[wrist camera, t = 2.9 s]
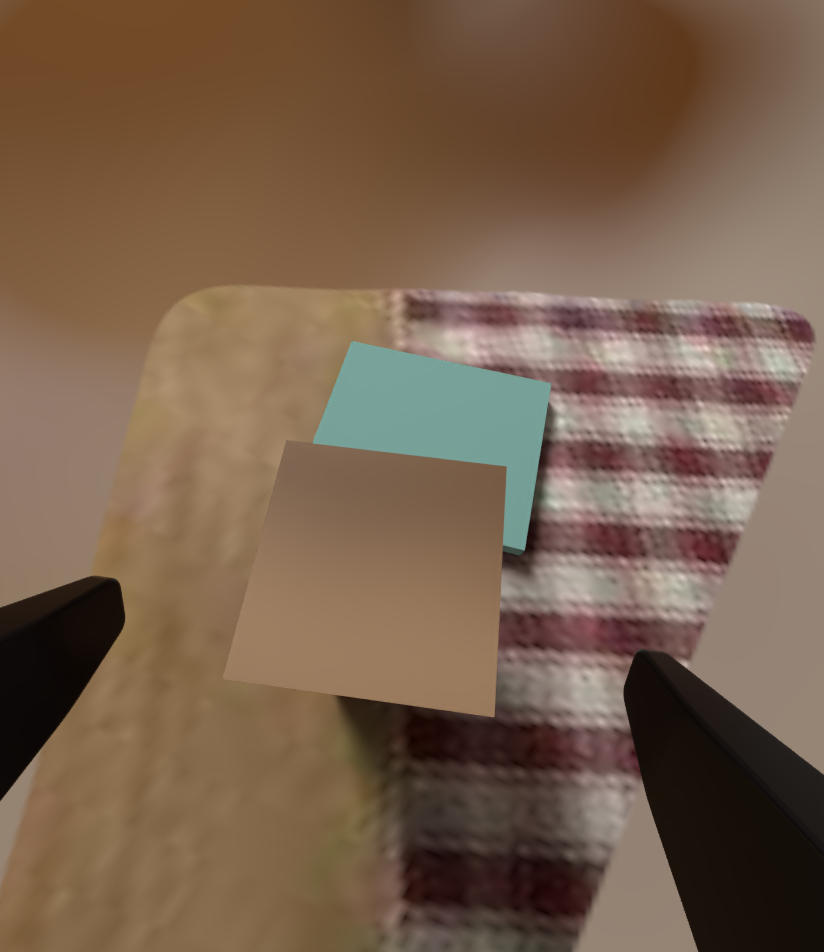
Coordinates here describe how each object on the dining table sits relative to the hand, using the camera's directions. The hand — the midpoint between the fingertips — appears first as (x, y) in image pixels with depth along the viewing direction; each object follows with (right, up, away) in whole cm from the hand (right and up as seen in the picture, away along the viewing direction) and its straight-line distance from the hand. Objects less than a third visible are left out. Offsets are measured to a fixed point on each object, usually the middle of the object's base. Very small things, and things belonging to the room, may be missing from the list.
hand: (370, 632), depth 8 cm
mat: (+1, +4, +12) cm, 12 cm away
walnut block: (0, -3, +9) cm, 9 cm away
